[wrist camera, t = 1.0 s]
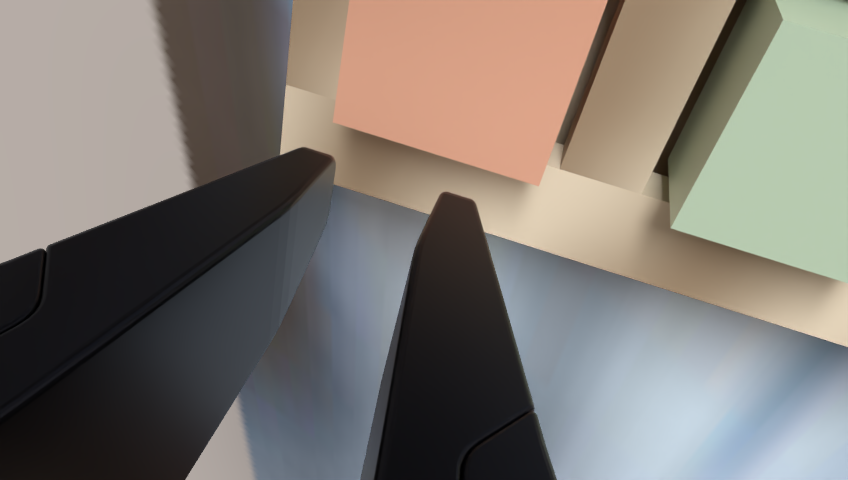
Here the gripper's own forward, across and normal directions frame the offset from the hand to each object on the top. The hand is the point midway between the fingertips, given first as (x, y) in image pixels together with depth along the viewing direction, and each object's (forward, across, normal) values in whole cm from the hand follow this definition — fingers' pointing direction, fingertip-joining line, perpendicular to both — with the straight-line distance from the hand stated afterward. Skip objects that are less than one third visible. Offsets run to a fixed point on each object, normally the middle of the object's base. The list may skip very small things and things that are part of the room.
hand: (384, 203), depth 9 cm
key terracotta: (+7, 0, 0) cm, 7 cm away
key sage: (+7, -6, 0) cm, 9 cm away
